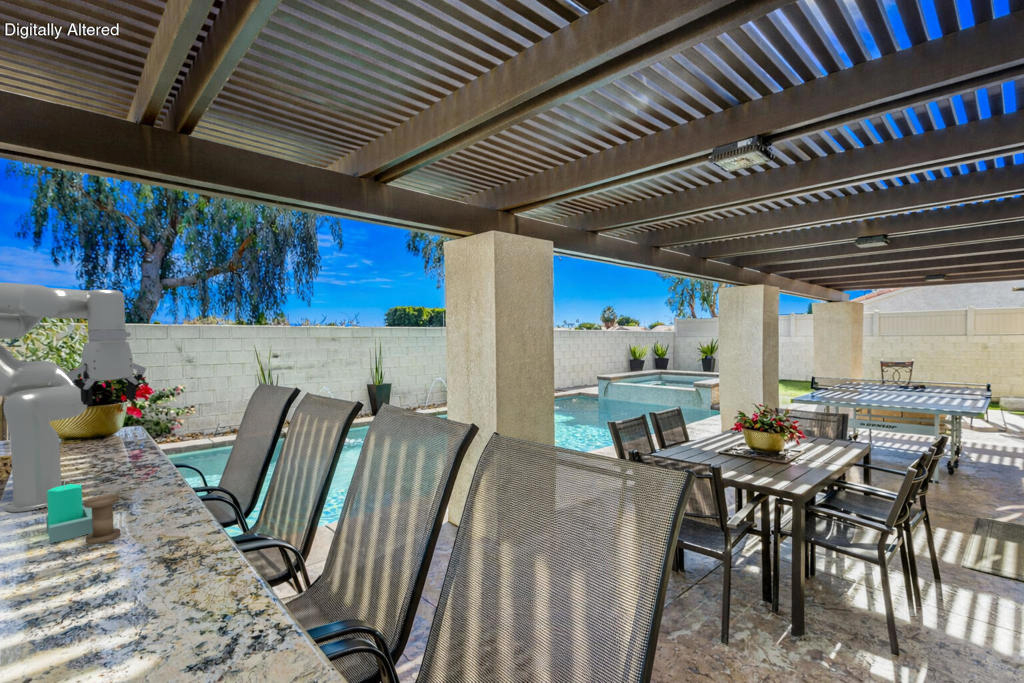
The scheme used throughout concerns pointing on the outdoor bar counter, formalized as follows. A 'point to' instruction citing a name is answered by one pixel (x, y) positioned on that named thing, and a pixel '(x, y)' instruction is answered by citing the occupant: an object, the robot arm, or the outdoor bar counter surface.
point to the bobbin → (102, 518)
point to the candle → (64, 503)
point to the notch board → (71, 527)
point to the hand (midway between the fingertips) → (109, 401)
